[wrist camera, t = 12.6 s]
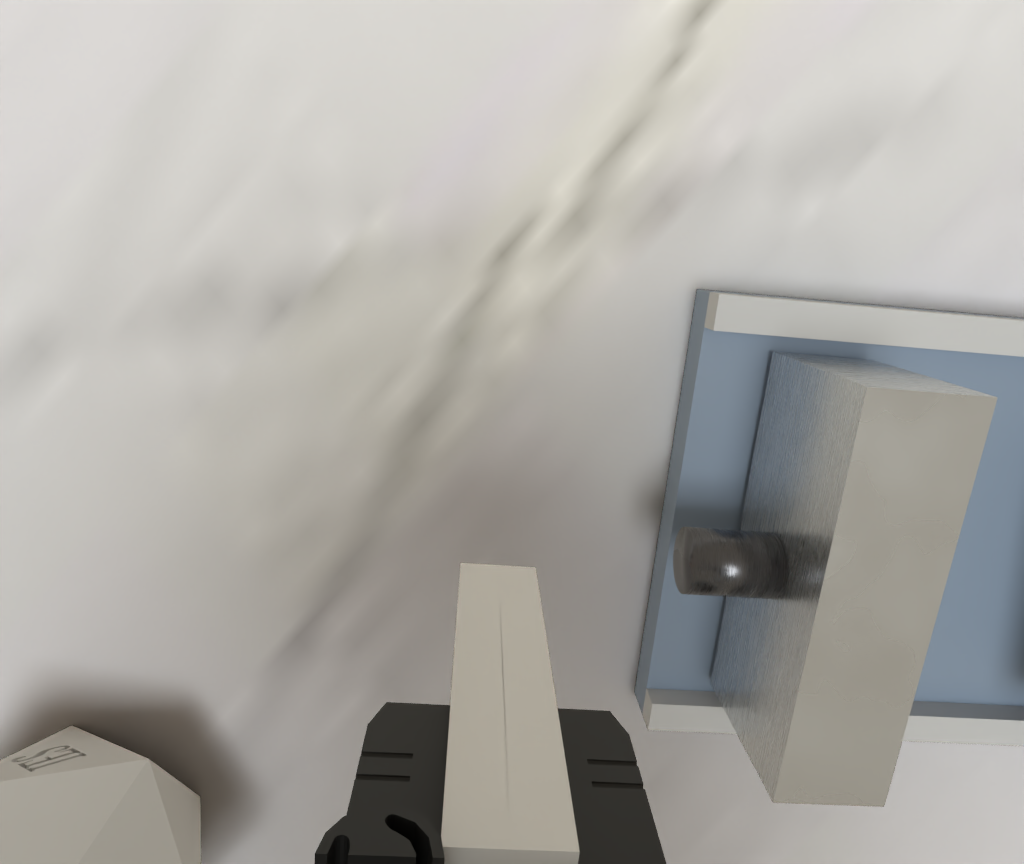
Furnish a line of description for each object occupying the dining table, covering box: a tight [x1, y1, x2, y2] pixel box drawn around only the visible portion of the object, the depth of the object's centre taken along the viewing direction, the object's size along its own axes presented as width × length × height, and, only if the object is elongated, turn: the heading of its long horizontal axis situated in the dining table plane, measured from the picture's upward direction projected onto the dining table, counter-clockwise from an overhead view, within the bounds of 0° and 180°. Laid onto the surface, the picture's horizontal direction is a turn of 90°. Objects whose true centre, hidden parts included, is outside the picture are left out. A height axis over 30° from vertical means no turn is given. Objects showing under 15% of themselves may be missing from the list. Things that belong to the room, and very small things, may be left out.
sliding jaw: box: [673, 352, 998, 807], centre depth 19 cm, size 11×6×5 cm, turn 175°
